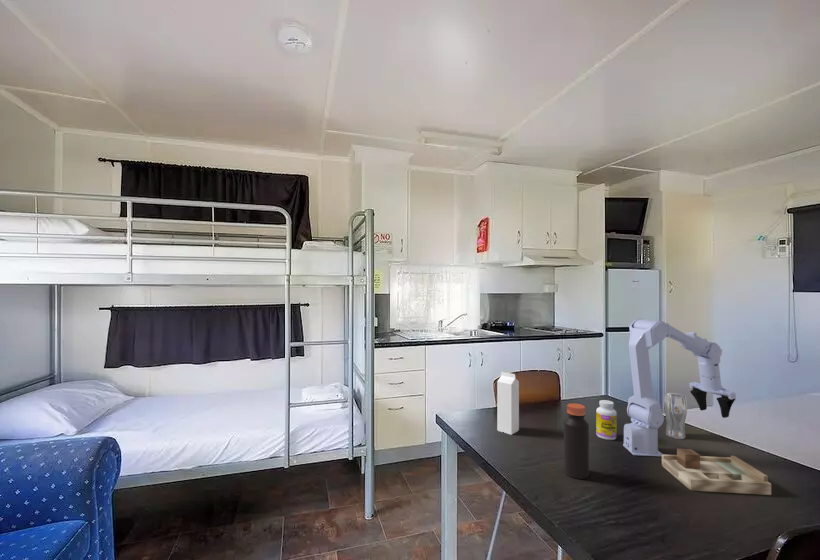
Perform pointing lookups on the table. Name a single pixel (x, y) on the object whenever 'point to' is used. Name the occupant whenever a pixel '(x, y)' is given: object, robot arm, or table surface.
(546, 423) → the table surface
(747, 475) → the tray
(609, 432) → the supplement bottle
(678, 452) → the walnut block
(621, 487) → the table surface
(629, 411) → the robot arm
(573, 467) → the vinegar
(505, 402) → the milk
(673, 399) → the beer glass
